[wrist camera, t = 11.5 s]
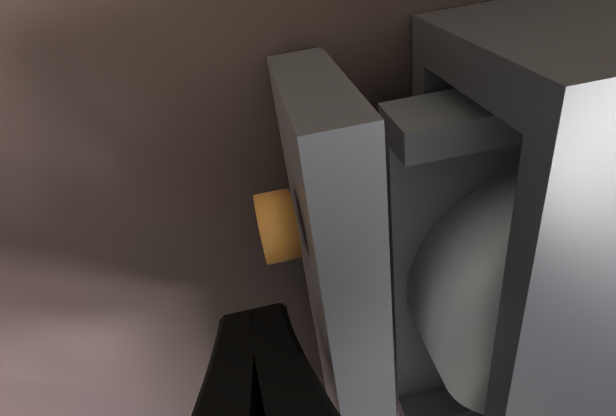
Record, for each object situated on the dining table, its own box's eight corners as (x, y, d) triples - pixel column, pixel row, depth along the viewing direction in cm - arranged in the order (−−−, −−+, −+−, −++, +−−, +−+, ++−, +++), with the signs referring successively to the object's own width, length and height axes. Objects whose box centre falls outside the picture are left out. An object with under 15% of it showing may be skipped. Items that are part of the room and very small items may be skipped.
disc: (452, 383, 12) (485, 449, 11) (365, 247, 9) (394, 310, 8) (653, 285, 11) (720, 339, 10) (629, 101, 8) (720, 139, 7)
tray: (696, 320, 15) (820, 422, 12) (306, 414, 14) (332, 551, 11) (878, -54, 9) (1214, -42, 6) (227, 63, 8) (234, 148, 5)
